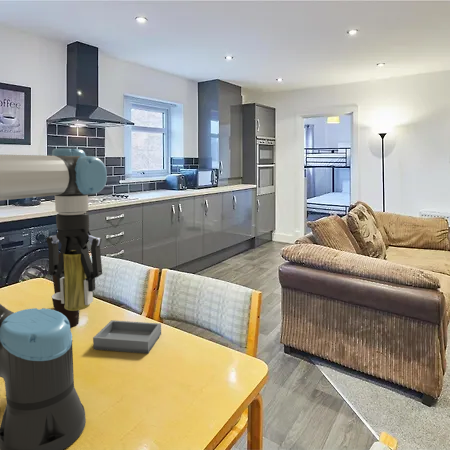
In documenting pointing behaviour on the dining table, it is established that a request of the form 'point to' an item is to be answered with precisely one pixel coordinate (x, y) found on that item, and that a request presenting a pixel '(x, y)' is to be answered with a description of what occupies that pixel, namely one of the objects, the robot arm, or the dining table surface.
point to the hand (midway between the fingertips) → (77, 302)
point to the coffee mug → (65, 310)
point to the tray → (127, 336)
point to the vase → (74, 282)
